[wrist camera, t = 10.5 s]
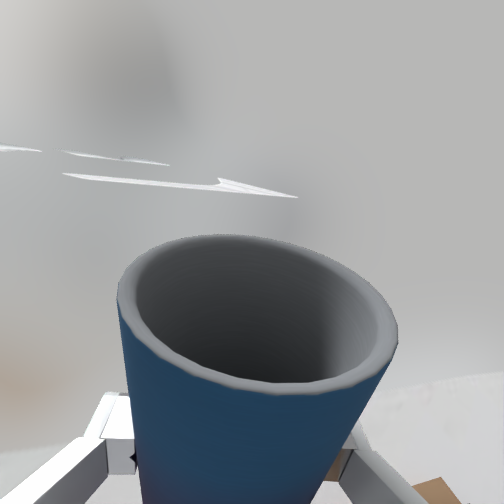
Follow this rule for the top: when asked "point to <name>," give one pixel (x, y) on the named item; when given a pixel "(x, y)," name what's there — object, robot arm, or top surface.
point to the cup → (246, 367)
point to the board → (436, 492)
